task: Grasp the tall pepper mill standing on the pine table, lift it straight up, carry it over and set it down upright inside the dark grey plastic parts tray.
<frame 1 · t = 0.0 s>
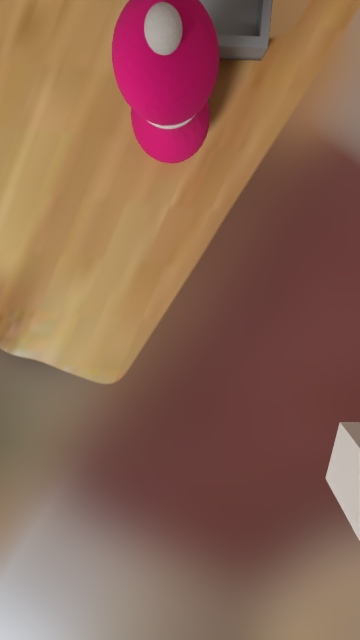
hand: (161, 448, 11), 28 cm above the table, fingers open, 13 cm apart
pepper mill: (171, 131, 32), on the table
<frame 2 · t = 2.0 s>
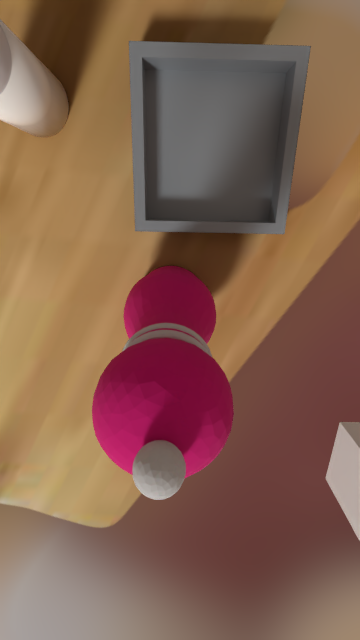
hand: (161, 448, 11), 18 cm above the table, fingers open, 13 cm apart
pepper mill: (171, 298, 28), on the table
tray: (210, 153, 23), on the table
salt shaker: (38, 103, 22), on the table
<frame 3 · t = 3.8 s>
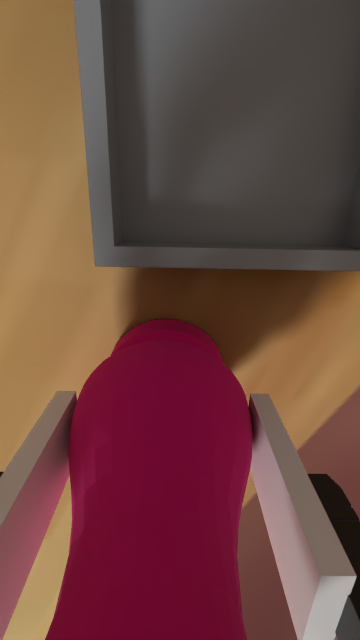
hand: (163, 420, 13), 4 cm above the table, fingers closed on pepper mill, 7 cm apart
pepper mill: (166, 368, 17), on the table, touching gripper
tray: (240, 117, 12), on the table
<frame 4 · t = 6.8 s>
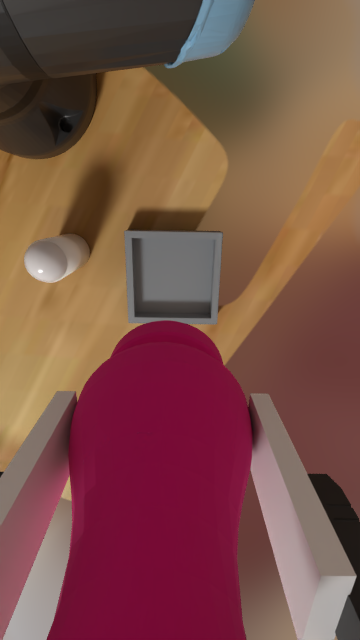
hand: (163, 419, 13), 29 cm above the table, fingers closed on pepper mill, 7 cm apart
pepper mill: (166, 370, 17), point 24 cm above the table, touching gripper
tray: (173, 276, 40), on the table
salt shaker: (72, 251, 38), on the table
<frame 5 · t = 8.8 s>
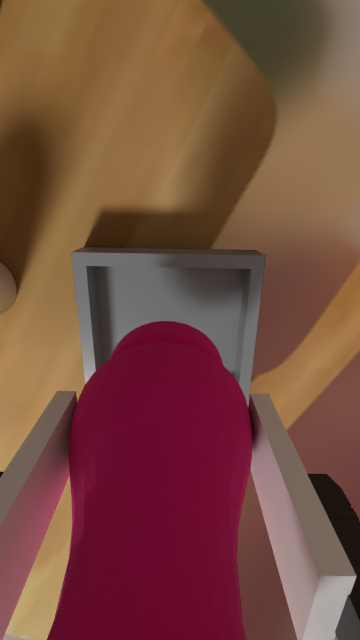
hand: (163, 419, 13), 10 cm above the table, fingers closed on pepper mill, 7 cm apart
pepper mill: (166, 370, 17), point 6 cm above the table, touching gripper
tray: (169, 328, 22), on the table
when the fingers open (6 cm above the table, at t = 10.0 s): pepper mill drops 1 cm, resting on tray.
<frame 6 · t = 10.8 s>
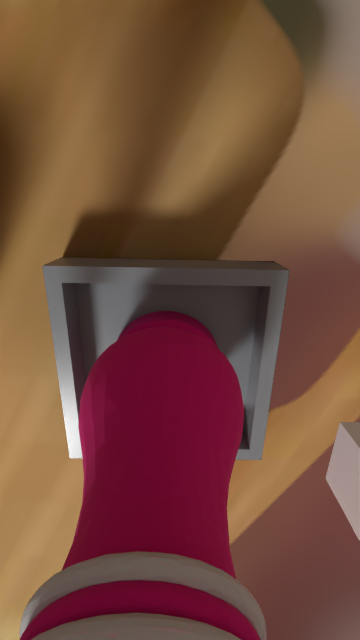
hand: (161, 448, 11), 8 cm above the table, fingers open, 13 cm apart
pepper mill: (166, 357, 18), resting on tray
tray: (167, 354, 18), on the table
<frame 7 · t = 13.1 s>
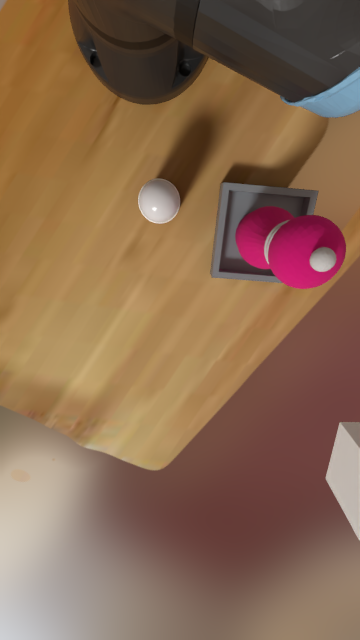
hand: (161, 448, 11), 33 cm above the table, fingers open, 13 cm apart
pepper mill: (258, 234, 40), resting on tray
tray: (257, 234, 40), on the table
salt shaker: (163, 202, 39), on the table
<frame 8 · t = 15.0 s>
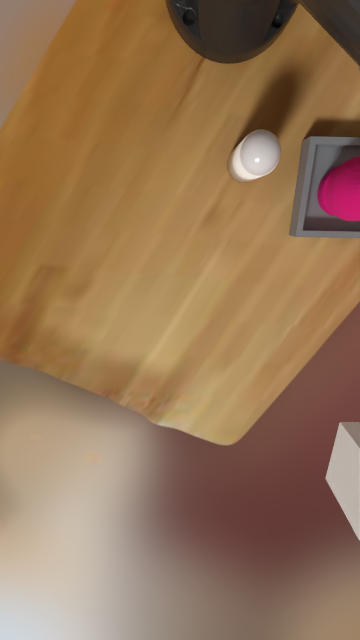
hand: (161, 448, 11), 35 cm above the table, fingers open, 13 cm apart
pepper mill: (339, 191, 40), resting on tray
tray: (338, 191, 40), on the table
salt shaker: (244, 164, 39), on the table
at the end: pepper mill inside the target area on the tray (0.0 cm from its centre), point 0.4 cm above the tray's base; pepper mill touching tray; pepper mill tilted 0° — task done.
